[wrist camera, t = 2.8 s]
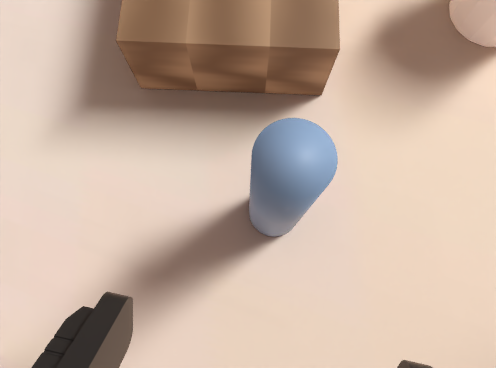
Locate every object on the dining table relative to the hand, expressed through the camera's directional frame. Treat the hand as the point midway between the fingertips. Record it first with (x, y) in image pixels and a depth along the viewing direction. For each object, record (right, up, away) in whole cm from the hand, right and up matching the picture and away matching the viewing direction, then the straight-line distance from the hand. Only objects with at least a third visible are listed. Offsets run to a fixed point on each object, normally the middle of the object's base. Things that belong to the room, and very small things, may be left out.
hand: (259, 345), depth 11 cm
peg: (+1, +3, +12) cm, 12 cm away
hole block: (-1, +17, +15) cm, 23 cm away
